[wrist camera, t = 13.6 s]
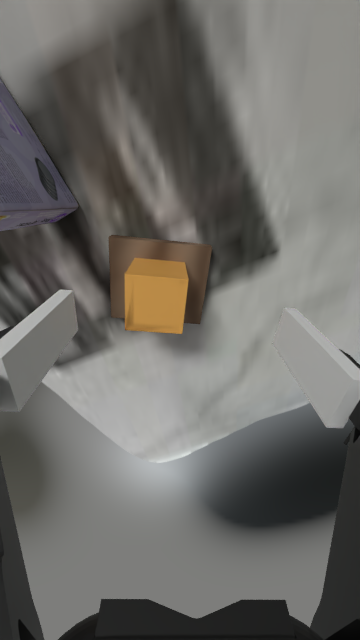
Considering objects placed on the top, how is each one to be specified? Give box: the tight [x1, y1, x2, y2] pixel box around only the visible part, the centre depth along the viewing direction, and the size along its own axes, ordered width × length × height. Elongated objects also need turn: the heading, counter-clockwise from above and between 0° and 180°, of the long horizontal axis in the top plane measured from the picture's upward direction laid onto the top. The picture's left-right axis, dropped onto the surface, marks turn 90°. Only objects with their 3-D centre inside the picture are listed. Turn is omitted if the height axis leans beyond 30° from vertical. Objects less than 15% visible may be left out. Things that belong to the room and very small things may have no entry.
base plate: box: [109, 235, 212, 324], centre depth 36 cm, size 14×12×2 cm
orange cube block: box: [125, 258, 189, 334], centre depth 31 cm, size 7×7×8 cm
